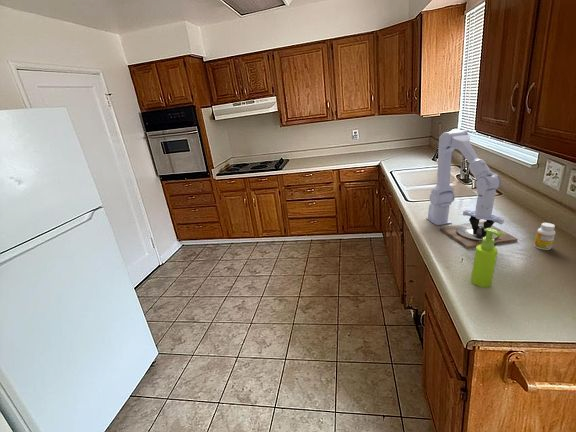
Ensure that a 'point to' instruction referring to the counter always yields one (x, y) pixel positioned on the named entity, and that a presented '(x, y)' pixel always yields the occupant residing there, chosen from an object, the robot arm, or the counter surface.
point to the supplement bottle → (545, 236)
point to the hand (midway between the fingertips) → (479, 234)
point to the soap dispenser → (485, 259)
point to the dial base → (474, 243)
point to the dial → (467, 231)
